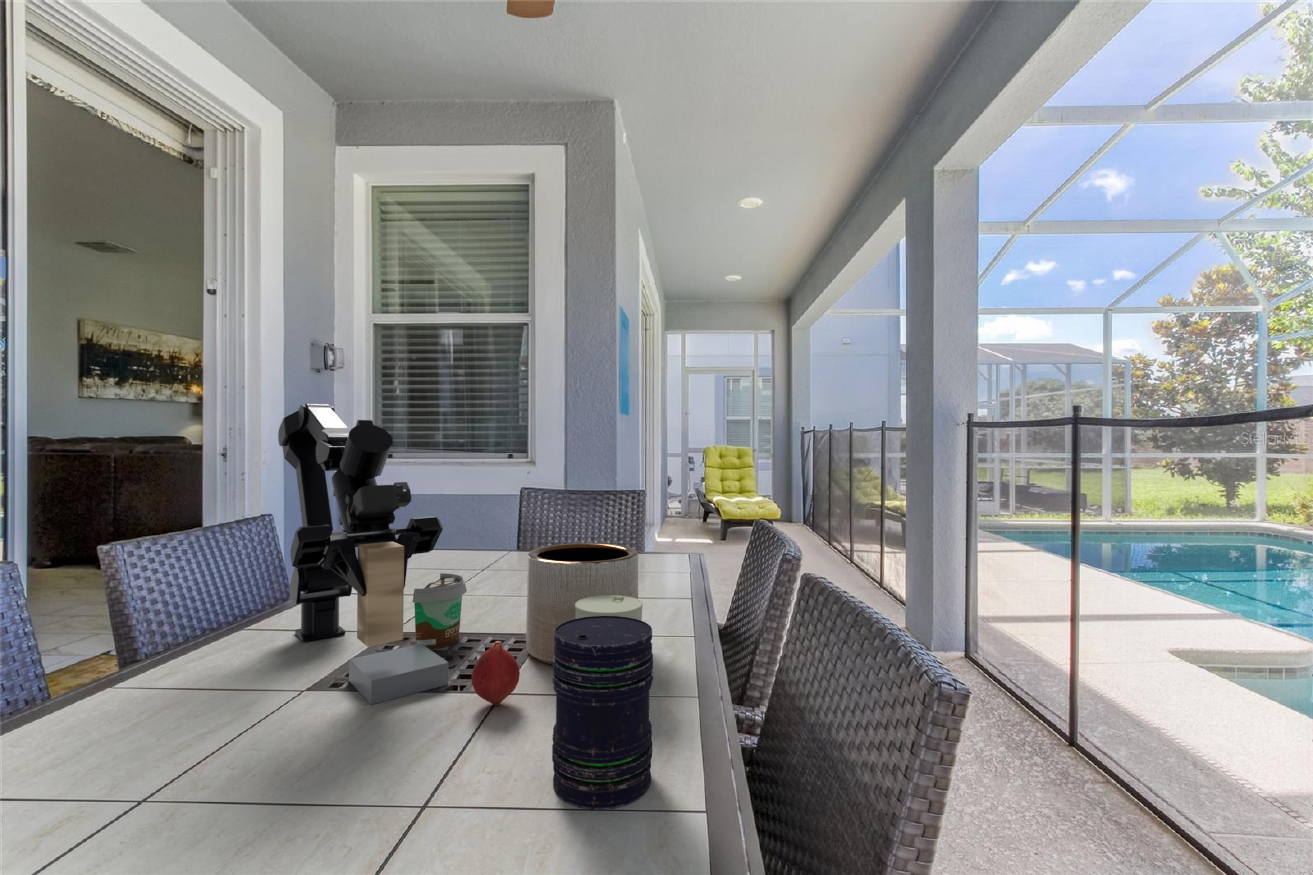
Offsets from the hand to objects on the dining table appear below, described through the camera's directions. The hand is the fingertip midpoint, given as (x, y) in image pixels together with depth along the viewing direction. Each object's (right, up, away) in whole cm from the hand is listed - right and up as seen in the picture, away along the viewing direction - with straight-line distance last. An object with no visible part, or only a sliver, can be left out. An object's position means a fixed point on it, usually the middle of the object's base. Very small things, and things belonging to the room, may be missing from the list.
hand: (384, 591), depth 83 cm
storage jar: (+31, -14, -21) cm, 40 cm away
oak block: (-1, -7, +1) cm, 7 cm away
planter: (+24, -14, +17) cm, 33 cm away
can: (+30, -14, +2) cm, 33 cm away
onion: (+16, -14, -4) cm, 21 cm away
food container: (+1, -14, +21) cm, 25 cm away
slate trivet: (+1, -13, +3) cm, 14 cm away
